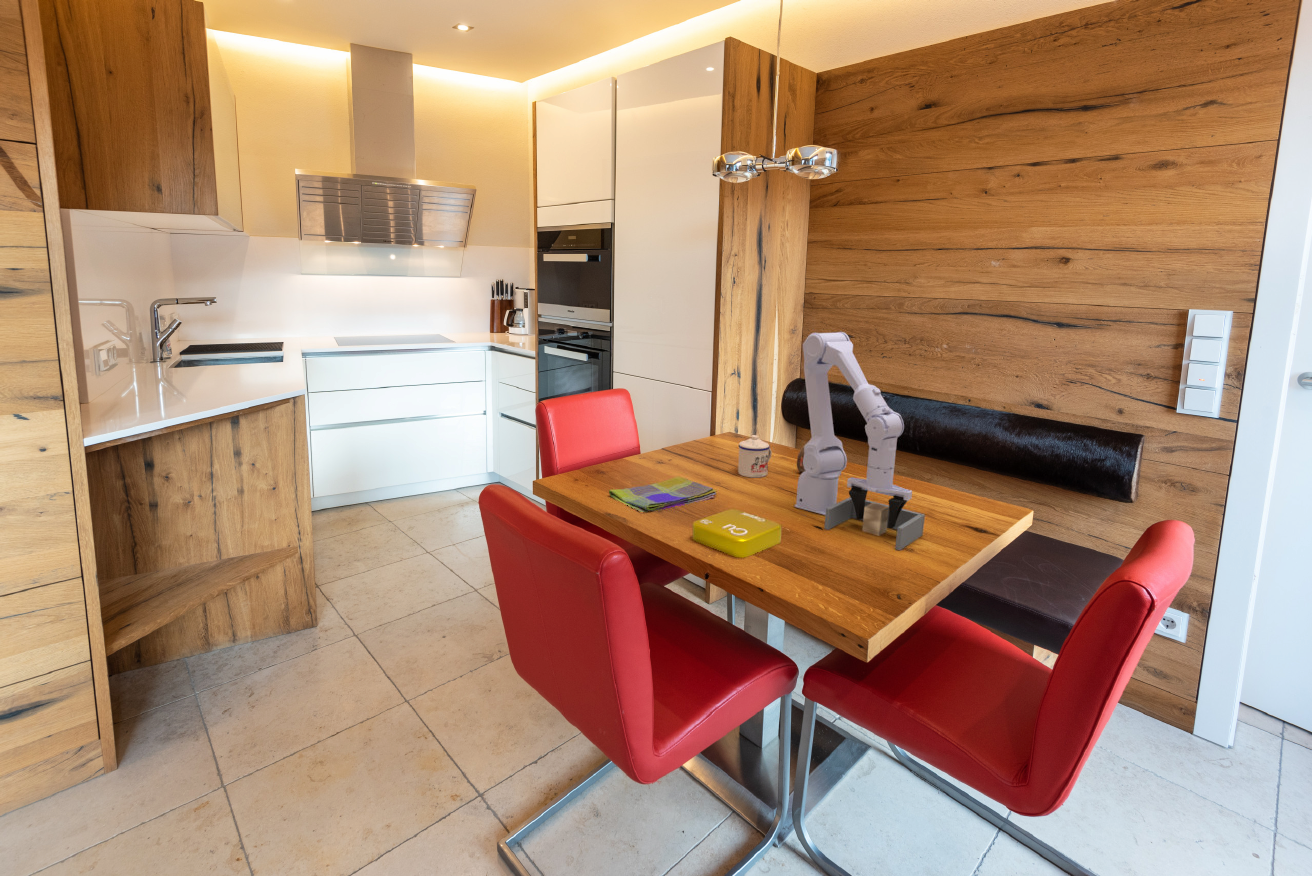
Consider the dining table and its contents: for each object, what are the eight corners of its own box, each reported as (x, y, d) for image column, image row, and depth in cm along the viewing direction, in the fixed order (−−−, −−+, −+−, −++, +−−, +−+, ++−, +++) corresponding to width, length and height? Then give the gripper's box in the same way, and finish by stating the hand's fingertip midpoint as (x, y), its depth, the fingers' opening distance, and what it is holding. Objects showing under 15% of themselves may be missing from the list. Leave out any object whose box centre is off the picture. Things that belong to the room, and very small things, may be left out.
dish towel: (606, 497, 177) (606, 487, 176) (679, 482, 191) (679, 473, 190) (643, 516, 163) (643, 505, 162) (719, 499, 177) (719, 489, 176)
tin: (817, 464, 210) (819, 438, 208) (827, 466, 208) (829, 439, 206) (794, 474, 199) (796, 446, 197) (804, 476, 197) (806, 448, 195)
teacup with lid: (753, 480, 192) (755, 440, 190) (730, 472, 199) (732, 434, 196) (781, 473, 200) (783, 435, 197) (758, 466, 206) (760, 429, 204)
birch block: (862, 531, 154) (864, 506, 153) (870, 526, 157) (872, 502, 156) (878, 535, 152) (881, 510, 150) (886, 531, 155) (888, 506, 153)
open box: (824, 528, 155) (825, 508, 154) (849, 515, 164) (851, 496, 163) (899, 550, 144) (902, 528, 142) (922, 535, 153) (924, 514, 151)
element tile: (784, 543, 148) (785, 522, 147) (741, 561, 138) (742, 539, 137) (732, 524, 158) (733, 505, 157) (688, 540, 148) (689, 520, 147)
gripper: (842, 463, 153) (838, 519, 156) (905, 476, 143) (898, 535, 146) (857, 457, 158) (852, 512, 161) (918, 469, 148) (911, 527, 151)
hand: (875, 522), depth 154 cm, fingers open, 7 cm apart
